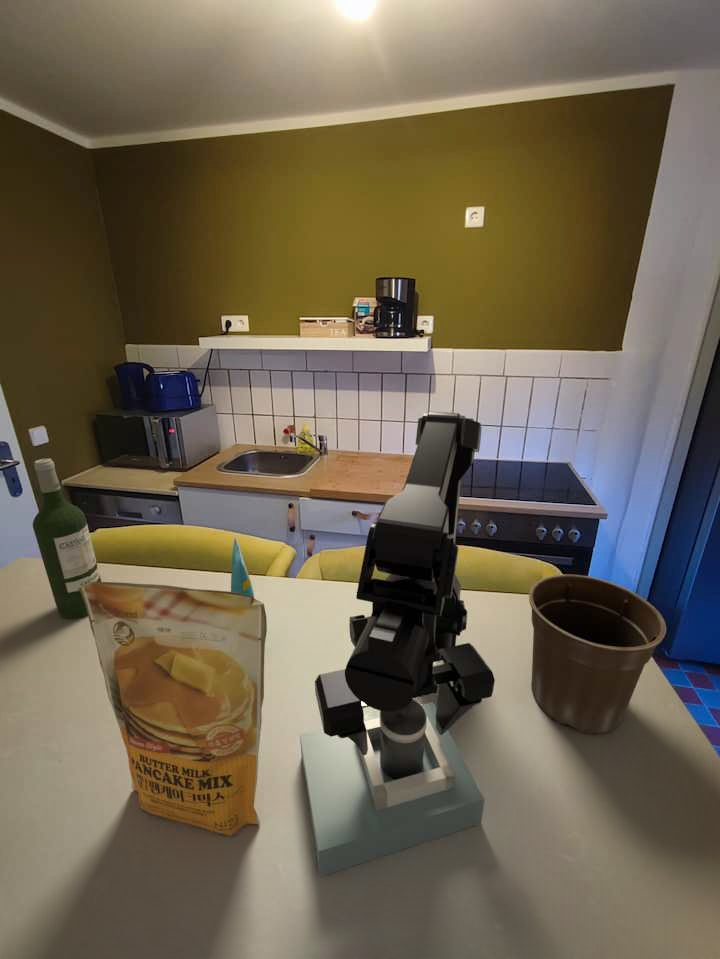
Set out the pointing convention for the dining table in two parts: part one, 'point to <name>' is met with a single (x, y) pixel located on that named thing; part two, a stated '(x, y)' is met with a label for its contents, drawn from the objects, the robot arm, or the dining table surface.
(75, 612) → the wine bottle
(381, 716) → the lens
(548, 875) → the dining table surface
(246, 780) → the pancake mix bag
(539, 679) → the plant pot
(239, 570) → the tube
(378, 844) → the teal base with frame
